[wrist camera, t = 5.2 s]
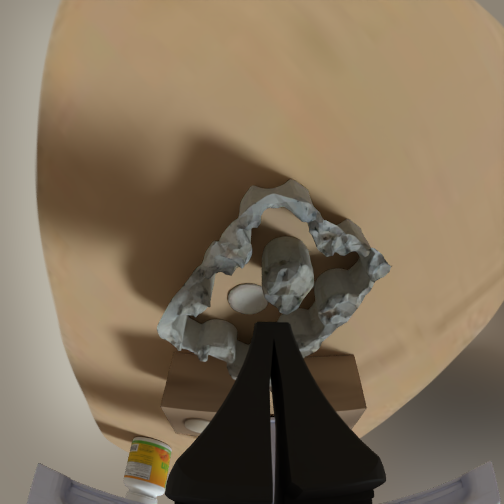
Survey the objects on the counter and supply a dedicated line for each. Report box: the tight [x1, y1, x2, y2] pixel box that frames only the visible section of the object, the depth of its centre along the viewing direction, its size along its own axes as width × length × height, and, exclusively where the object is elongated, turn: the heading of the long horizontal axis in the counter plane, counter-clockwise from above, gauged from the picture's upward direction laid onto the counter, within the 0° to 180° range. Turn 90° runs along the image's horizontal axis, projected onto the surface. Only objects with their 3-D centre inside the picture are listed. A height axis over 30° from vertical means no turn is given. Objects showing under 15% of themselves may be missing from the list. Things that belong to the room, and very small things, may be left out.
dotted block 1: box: [161, 352, 235, 436], centre depth 18 cm, size 4×4×5 cm
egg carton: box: [157, 179, 392, 392], centre depth 14 cm, size 11×8×4 cm
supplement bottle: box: [124, 437, 171, 504], centre depth 27 cm, size 5×5×10 cm
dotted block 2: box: [304, 355, 367, 429], centre depth 18 cm, size 4×4×5 cm
